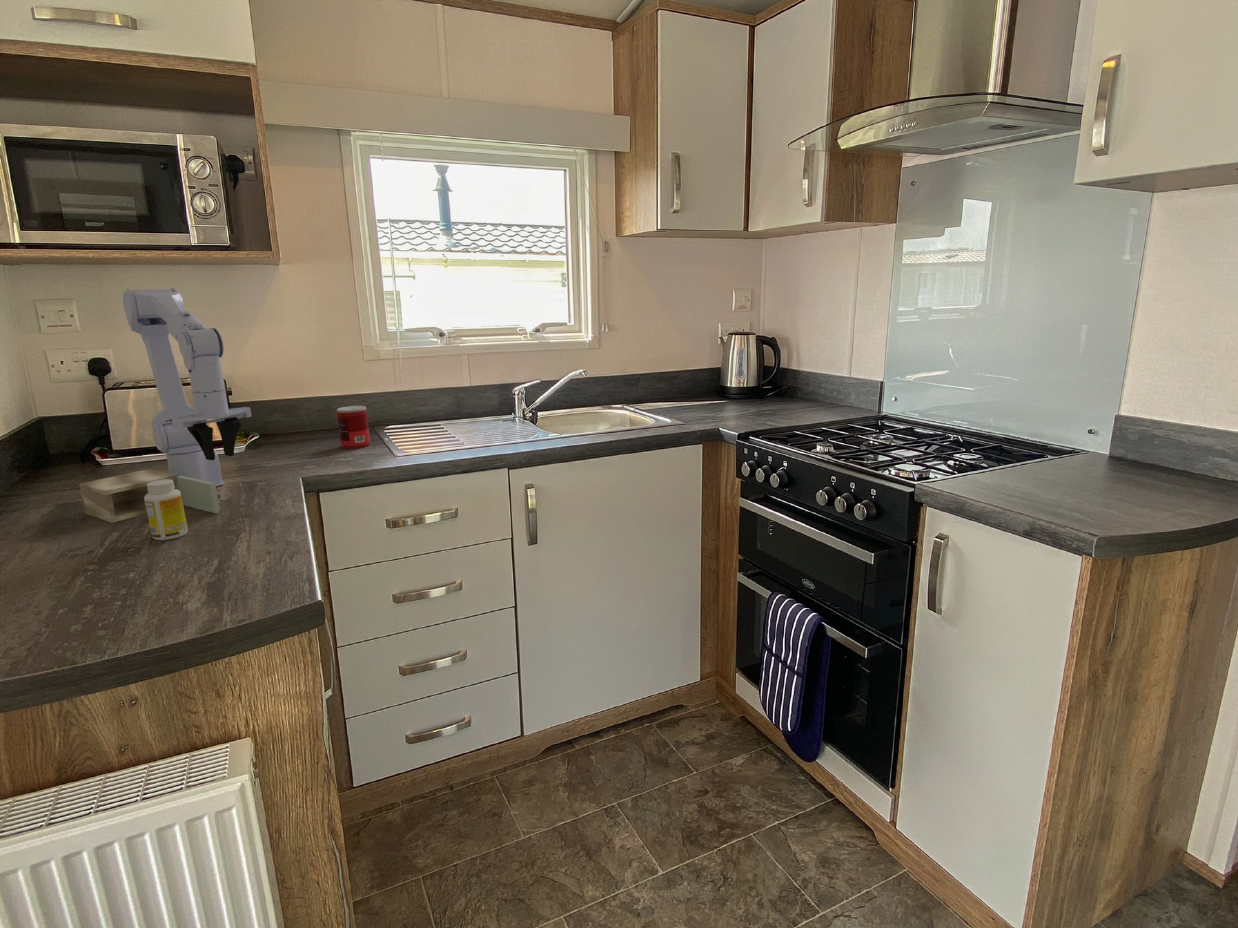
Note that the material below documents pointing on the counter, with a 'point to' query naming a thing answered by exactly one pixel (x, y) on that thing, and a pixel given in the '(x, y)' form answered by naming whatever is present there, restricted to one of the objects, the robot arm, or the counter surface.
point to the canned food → (353, 427)
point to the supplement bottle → (165, 510)
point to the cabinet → (120, 494)
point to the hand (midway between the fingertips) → (220, 457)
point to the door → (199, 494)
